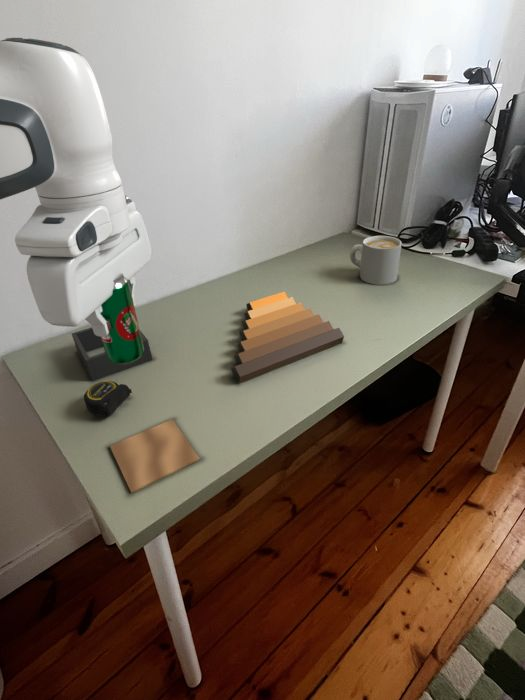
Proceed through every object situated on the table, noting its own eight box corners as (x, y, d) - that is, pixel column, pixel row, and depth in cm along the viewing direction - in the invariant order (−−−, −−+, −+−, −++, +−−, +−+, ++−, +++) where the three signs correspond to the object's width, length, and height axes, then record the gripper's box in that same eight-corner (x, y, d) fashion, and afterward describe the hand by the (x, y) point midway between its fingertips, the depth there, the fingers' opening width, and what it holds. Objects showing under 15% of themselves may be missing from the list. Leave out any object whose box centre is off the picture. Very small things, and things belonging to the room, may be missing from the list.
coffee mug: (403, 275, 120) (408, 240, 114) (385, 288, 114) (389, 251, 108) (362, 264, 128) (364, 231, 122) (342, 275, 122) (344, 241, 116)
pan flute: (240, 385, 83) (343, 344, 93) (239, 371, 81) (344, 331, 91) (190, 330, 101) (281, 300, 111) (188, 317, 99) (280, 288, 109)
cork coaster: (131, 493, 63) (130, 491, 63) (110, 447, 71) (109, 445, 71) (199, 460, 68) (199, 458, 67) (172, 420, 75) (172, 418, 75)
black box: (92, 381, 86) (85, 360, 83) (77, 352, 95) (71, 333, 92) (152, 359, 92) (147, 339, 89) (133, 334, 101) (128, 315, 98)
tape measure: (110, 423, 76) (105, 406, 74) (80, 414, 78) (73, 398, 76) (134, 399, 81) (129, 383, 79) (104, 391, 83) (99, 376, 81)
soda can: (105, 351, 61) (81, 272, 54) (141, 342, 62) (122, 264, 56) (110, 370, 57) (85, 287, 50) (148, 360, 59) (129, 278, 52)
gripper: (109, 191, 58) (131, 285, 66) (1, 245, 41) (48, 362, 49) (152, 191, 57) (169, 287, 64) (59, 247, 40) (97, 367, 48)
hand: (116, 320), depth 57 cm, fingers closed on soda can, 5 cm apart
